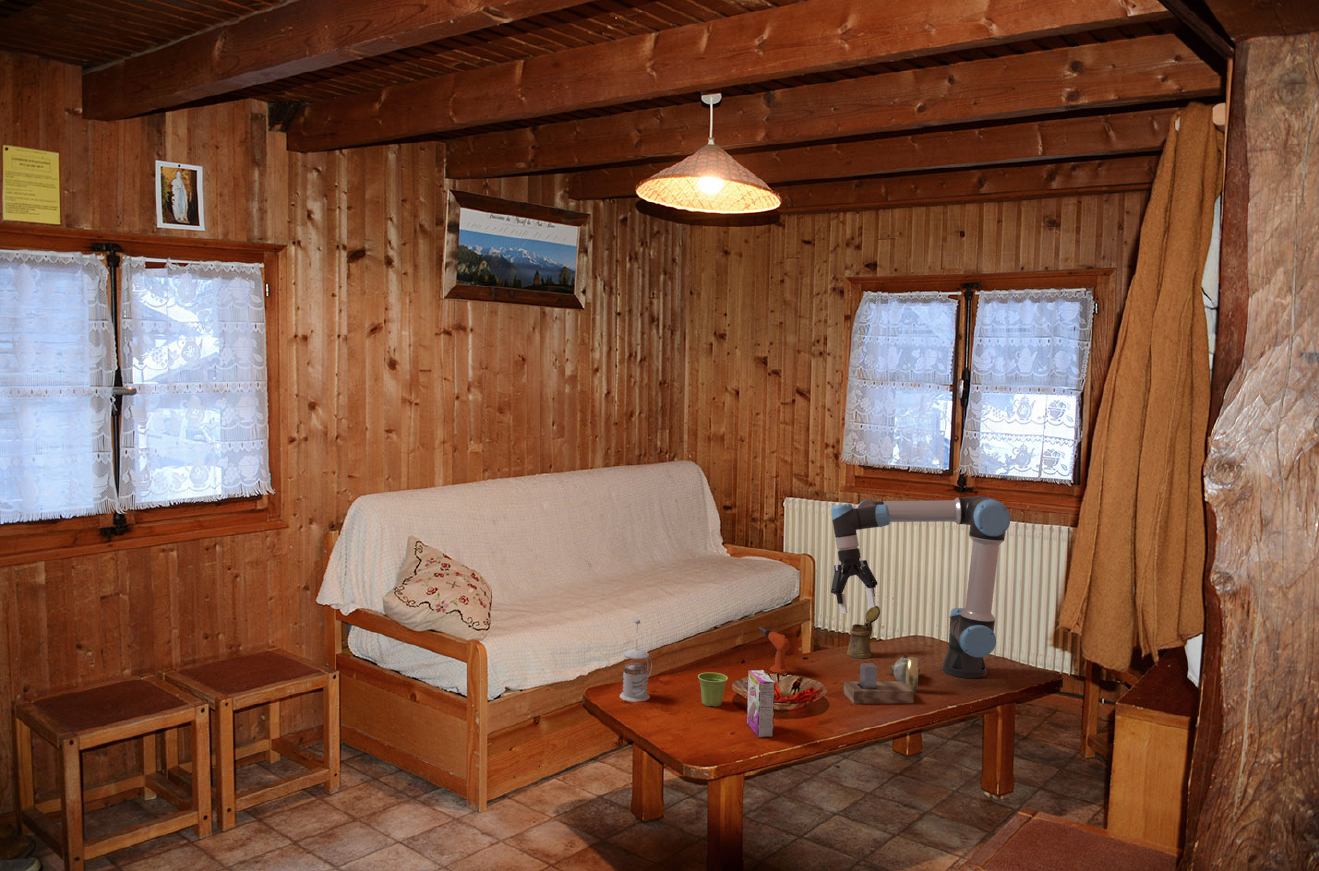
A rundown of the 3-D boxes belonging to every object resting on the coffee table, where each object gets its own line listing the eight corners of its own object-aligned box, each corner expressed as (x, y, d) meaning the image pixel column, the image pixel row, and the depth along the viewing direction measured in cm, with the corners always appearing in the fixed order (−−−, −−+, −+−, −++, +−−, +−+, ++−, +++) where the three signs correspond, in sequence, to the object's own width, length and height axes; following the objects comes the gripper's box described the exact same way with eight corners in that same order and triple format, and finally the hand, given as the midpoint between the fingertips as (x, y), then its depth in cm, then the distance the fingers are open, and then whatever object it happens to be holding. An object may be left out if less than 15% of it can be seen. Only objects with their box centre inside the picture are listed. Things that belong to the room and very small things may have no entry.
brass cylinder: (913, 688, 326) (916, 656, 325) (919, 692, 322) (921, 660, 321) (902, 688, 325) (905, 656, 325) (907, 692, 321) (910, 660, 321)
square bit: (870, 695, 316) (872, 662, 316) (875, 699, 312) (877, 666, 312) (859, 696, 315) (860, 663, 315) (863, 700, 312) (865, 666, 311)
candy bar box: (745, 723, 287) (747, 669, 286) (761, 723, 288) (763, 669, 287) (757, 737, 276) (759, 681, 275) (773, 737, 277) (776, 681, 276)
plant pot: (710, 696, 310) (711, 670, 310) (732, 704, 304) (733, 677, 303) (690, 702, 304) (691, 675, 303) (712, 711, 297) (713, 683, 297)
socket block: (901, 692, 321) (902, 681, 321) (913, 703, 311) (913, 690, 311) (843, 693, 319) (844, 681, 318) (853, 703, 309) (854, 691, 308)
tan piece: (884, 654, 365) (886, 608, 364) (859, 659, 357) (861, 612, 356) (867, 648, 372) (869, 603, 371) (842, 653, 365) (844, 606, 364)
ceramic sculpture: (889, 657, 331) (890, 648, 345) (888, 682, 331) (888, 672, 346) (921, 661, 328) (920, 652, 343) (920, 686, 328) (919, 676, 343)
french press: (613, 695, 308) (615, 618, 306) (638, 687, 316) (641, 613, 315) (635, 703, 301) (637, 625, 300) (660, 695, 310) (663, 619, 308)
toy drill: (761, 656, 352) (765, 619, 349) (790, 677, 336) (795, 638, 334) (750, 658, 350) (755, 620, 347) (779, 678, 334) (784, 639, 332)
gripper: (865, 545, 344) (875, 604, 341) (814, 553, 330) (824, 616, 328) (881, 543, 338) (891, 604, 335) (829, 552, 324) (839, 615, 321)
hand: (858, 610), depth 331 cm, fingers open, 13 cm apart
